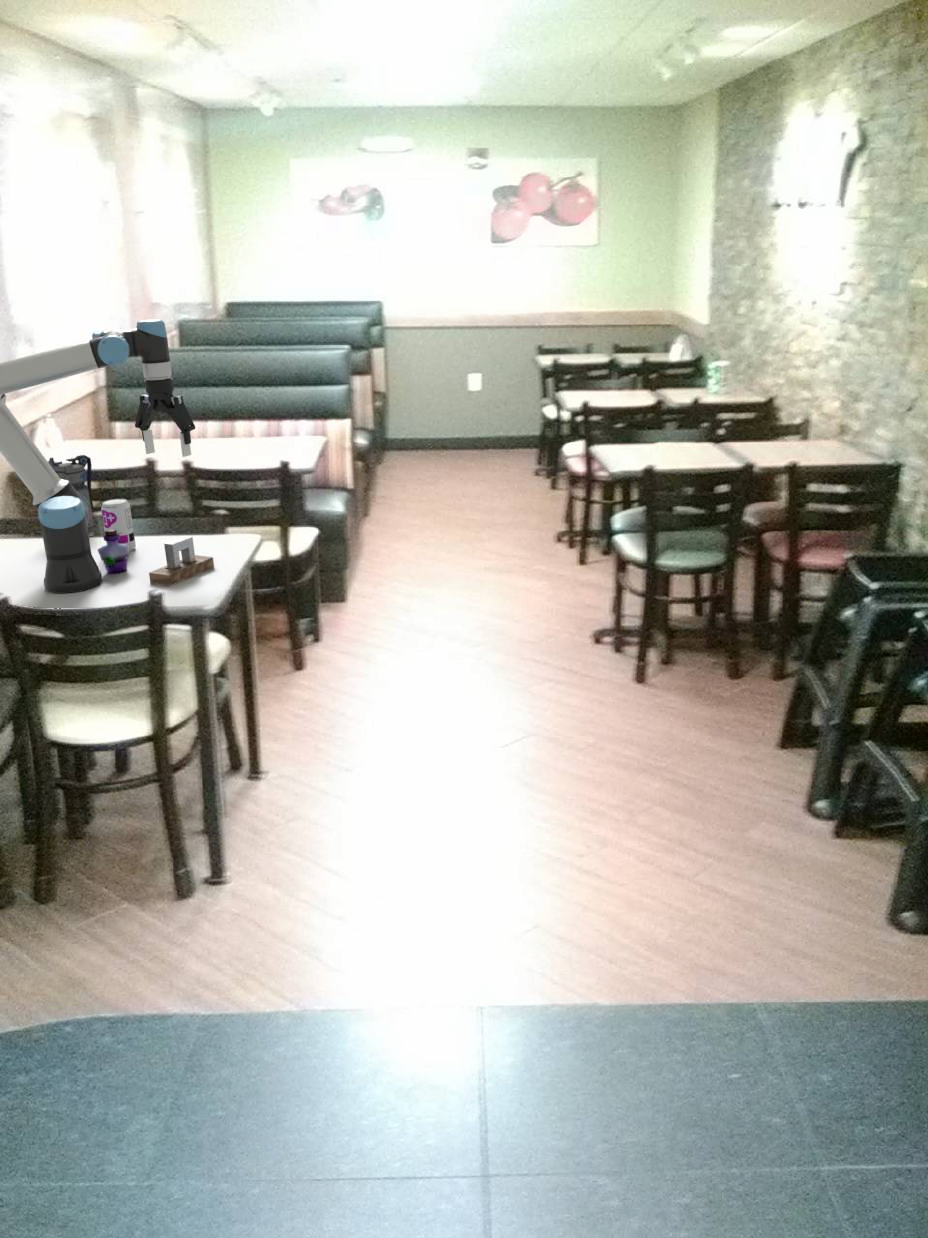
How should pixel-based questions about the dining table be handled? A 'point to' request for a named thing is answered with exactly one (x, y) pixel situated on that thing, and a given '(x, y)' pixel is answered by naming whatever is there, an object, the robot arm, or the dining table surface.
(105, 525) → the supplement can
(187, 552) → the clip
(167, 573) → the wooden socket base
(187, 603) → the dining table surface
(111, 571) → the potion bottle
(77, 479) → the dark grey lidded pitcher
